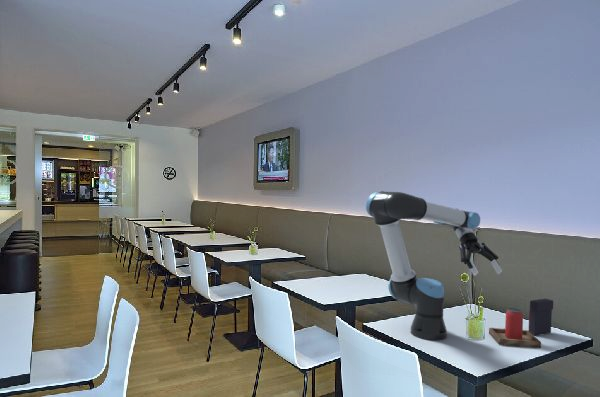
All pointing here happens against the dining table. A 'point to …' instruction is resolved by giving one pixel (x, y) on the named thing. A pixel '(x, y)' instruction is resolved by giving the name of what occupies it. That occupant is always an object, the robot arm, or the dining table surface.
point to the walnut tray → (526, 340)
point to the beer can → (514, 324)
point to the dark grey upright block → (540, 316)
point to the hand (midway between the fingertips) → (488, 273)
